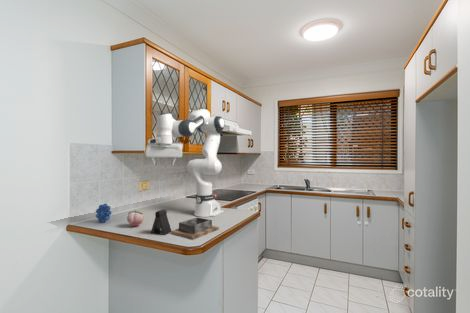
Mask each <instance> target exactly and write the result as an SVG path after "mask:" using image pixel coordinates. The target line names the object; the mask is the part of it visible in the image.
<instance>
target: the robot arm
mask: <svg viewBox="0 0 470 313" xmlns="http://www.w3.org/2000/svg"><path fill="white" fill-rule="evenodd" d="M225 124H226V122H225V120H224V118H223V117H222V116H218V115H217V116H211V113H210V111H209V110H208V109H206V108H200V109H196V110H193V111H191V112H190V113H189V114H188V116H187V119H183V120H182V119H181V120H176V119H175V118H174V117H173V115H172V113H170V112H165V113H162V112H161V113H159V114H158V115H157V118H156V131H157V132H156V137H155V138H150V139H148V140H147V145H146V146H145V152H144V153H145V154H144V156H145V157H146V158H151V160H152V162H153V166H157V165H158V162H156V161H155V160H156V158H173V161H172V162H171V163H170V165H171V166H175V162H176V160H177V158H182V157H183V148H184V144H183V143H182V141H173V138H178V137H184V138H187V137H188V138H190V137H192V136H193V135H194V134H195V133H196V131H198V132H199V133H202V134H205V133H207V136H206V138H205V139H204V140H205V141H204V143H203V146H202V149H201V153H202V155H203V156H204V157H205V158H195V159H191V160H189V161H188V162H187V171H188V172H189V174H191V176H192V177H193V179H194V182H195V189H196V194H195V206H194V207H195V209H194V213H193V214H194V216H195V217H198V218H202V217H203V218H204V217H205V218H206V217H208V218H209V217H217V216H219V215H221V214H222V213H224V211H225V210H223V209H221V204H220V202H218V201H217V200H216V199H215V198H216V197H217V194H214V193H213V183H212V182H211V181H210V180H209V179H208V178H207V177H206V176H207V175H209V176H213V175H219V174H220V173H221V171H222V169H223V166H222V165H223V164H222V162H221V161H220V160H219V159H218V152H219V147H220V143H221V133H222V132H223V130H224V129H225V126H226V125H225Z"/></svg>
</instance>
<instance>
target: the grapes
mask: <svg viewBox="0 0 470 313" xmlns="http://www.w3.org/2000/svg"><path fill="white" fill-rule="evenodd" d="M95 213H96V214H95V218H96V219H97V222H100V223H101V222H102V223H103V222H105V223H106V222H107V221H109V220H110V219H111V215H112V211H111V206H110V205H108V204H107V203H103V204H100V205H99V206H98V208H96V209H95Z"/></svg>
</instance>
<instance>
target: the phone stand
mask: <svg viewBox="0 0 470 313" xmlns="http://www.w3.org/2000/svg"><path fill="white" fill-rule="evenodd" d="M167 213H168V212H167V209H160V210H158V211H156V212H155V214H154V216H155V217H154V221H153V224H152V228H151V230H150V234H151V235H159V236H167V234H168V235H169V233H172V228H171V225H170V222H169V218H168V215H167Z"/></svg>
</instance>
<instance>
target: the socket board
mask: <svg viewBox="0 0 470 313" xmlns="http://www.w3.org/2000/svg"><path fill="white" fill-rule="evenodd" d="M212 224H213V220H212V219H207V218H204V217H203V218H202V217H199V216H196V217H194V218H191V219H187V220H184V221H180V222H179V223H178V228H176V229H173V230H171V234H172V235H175V236H178V237H181V238H184V239H185V238H186V239H189V240H193V241H194V240H195V239H198V238H201V237H204V236H206V235H208V233H209V234H211V233H214V232H216V231H218V230H220V229H219V228H220V227H219V226H216V225H212ZM203 235H204V236H203Z"/></svg>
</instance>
